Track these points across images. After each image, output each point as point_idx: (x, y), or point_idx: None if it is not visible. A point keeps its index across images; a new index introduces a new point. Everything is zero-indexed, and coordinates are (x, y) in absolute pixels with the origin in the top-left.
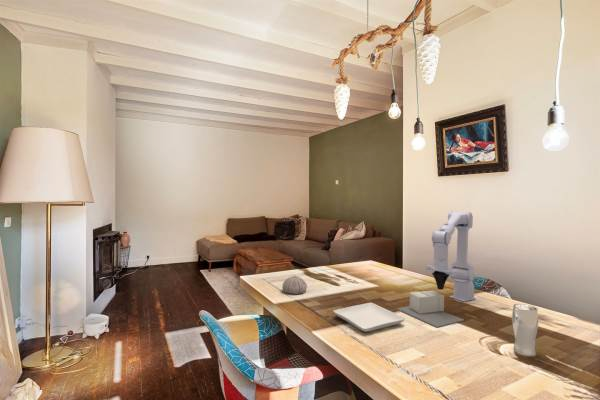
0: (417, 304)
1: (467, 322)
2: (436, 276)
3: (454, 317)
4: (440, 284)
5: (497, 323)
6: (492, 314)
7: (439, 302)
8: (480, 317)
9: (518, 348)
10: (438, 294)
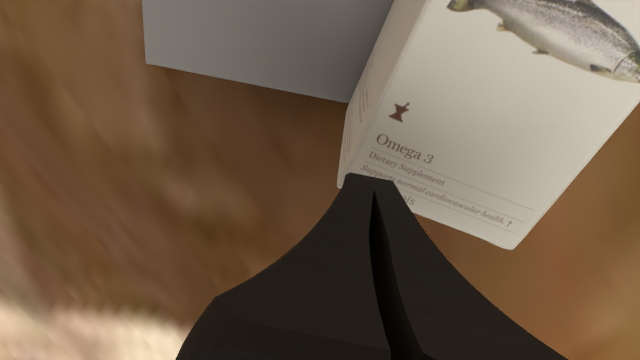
0: None
1: (121, 51)
2: (411, 315)
3: (214, 46)
4: (328, 212)
5: (45, 190)
6: (159, 295)
7: (361, 97)
8: (154, 210)
9: None
10: (390, 158)
